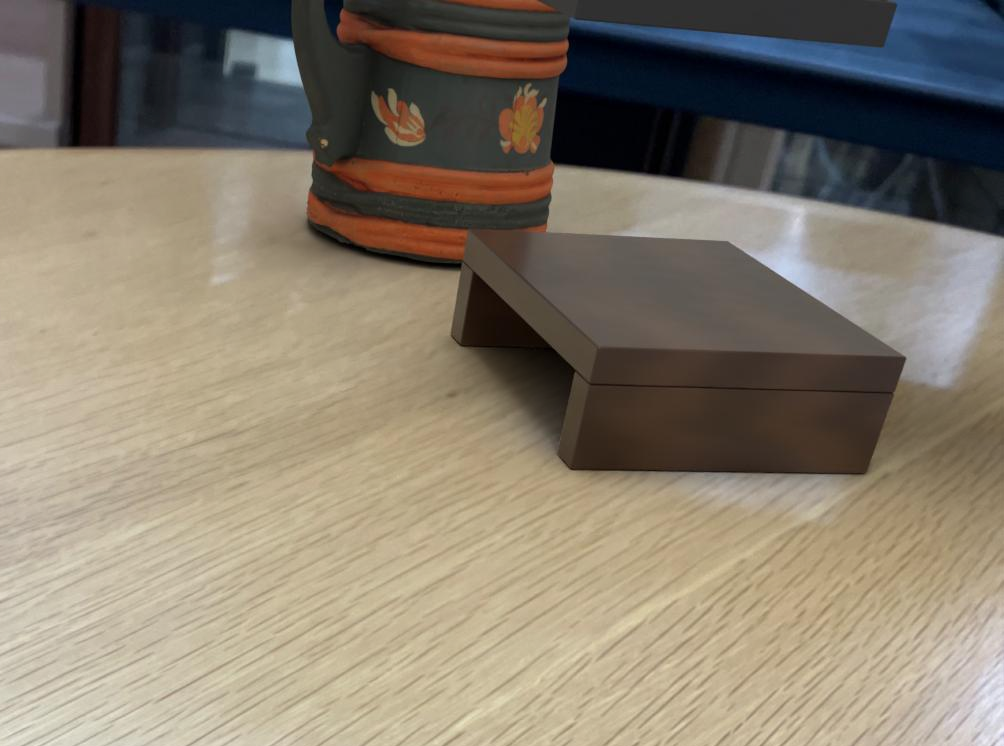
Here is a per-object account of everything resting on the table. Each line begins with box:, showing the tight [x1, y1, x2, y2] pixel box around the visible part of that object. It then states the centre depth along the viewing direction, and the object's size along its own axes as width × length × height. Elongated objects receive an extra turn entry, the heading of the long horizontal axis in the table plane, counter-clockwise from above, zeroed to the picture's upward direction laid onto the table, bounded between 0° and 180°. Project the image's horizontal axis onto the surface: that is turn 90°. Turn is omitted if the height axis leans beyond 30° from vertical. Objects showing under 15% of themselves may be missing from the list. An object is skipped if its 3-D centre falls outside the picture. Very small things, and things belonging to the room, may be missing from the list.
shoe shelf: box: [450, 228, 907, 474], centre depth 71 cm, size 14×18×5 cm
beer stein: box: [290, 0, 572, 264], centre depth 85 cm, size 19×15×20 cm
